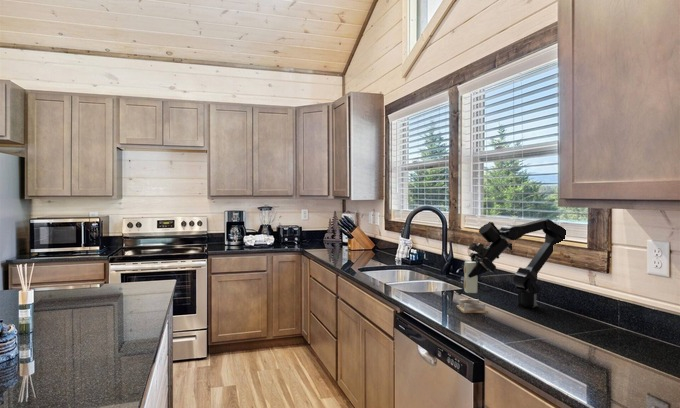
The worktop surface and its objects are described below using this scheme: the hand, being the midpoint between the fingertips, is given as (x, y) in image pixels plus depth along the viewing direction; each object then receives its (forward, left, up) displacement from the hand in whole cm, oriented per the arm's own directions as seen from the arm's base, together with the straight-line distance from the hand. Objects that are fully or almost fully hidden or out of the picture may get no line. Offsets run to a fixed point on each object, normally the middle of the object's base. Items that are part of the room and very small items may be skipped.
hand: (467, 276), depth 180 cm
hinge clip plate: (-3, +2, -13) cm, 14 cm away
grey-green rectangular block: (-1, -1, -7) cm, 7 cm away
